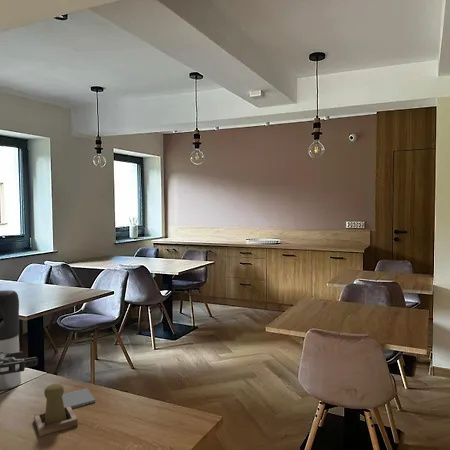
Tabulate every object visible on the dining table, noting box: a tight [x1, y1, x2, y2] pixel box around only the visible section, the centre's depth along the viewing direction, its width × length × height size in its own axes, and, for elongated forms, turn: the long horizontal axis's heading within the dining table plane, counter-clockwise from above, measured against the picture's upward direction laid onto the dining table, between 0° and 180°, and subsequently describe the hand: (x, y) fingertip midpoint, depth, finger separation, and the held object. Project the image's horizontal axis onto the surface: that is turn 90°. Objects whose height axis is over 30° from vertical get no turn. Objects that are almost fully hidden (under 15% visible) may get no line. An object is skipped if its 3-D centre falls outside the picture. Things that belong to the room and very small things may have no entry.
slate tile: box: [62, 387, 96, 409], centre depth 136 cm, size 10×10×1 cm
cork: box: [43, 383, 68, 427], centre depth 122 cm, size 6×6×11 cm
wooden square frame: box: [33, 405, 79, 437], centre depth 122 cm, size 10×10×2 cm
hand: (30, 358), depth 117 cm, fingers open, 8 cm apart
